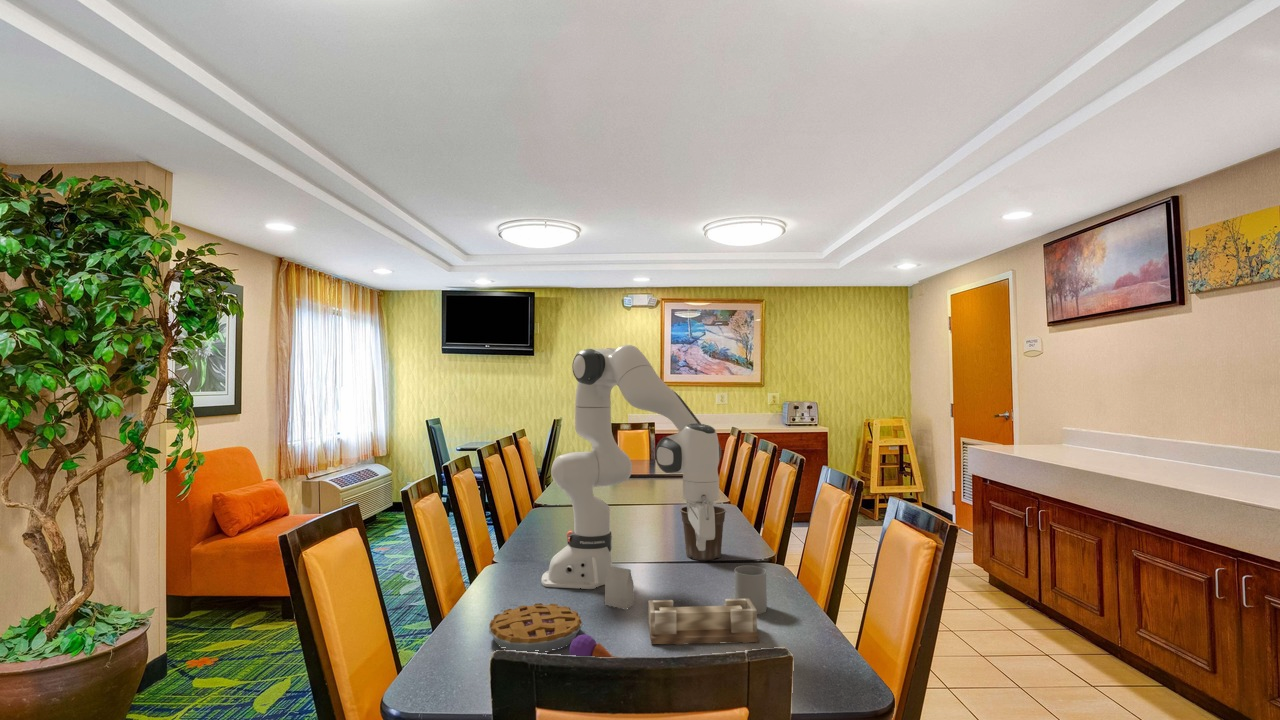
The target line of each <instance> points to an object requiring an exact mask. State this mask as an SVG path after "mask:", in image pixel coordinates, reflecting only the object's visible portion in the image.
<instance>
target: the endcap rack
mask: <svg viewBox="0 0 1280 720" xmlns="http://www.w3.org/2000/svg"><path fill="white" fill-rule="evenodd" d="M731 605H740V606H741V607H742V609H730V610H731V629H713V630H682V631H676V610H665V611H659V608H661V607H674V600H673V599H660V600H659V599H658V600H657V599H653V600H648V618H647V627H648V626H649V627H648V633H649V638H650V645H651V644H676V645H685V644H684V643H720V642H743V643H742V644H750V643H749V642H756V643H757V644H760V635H759V633H758V614H757V610H756V609H755V607H754V605H753V604H752V602H751V601H750V599H735V598H725V599H724V606H731ZM747 642H748V643H747ZM756 643H755V644H756ZM720 644H721V643H720Z"/></svg>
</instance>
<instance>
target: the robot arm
mask: <svg viewBox="0 0 1280 720" xmlns="http://www.w3.org/2000/svg"><path fill="white" fill-rule="evenodd" d="M572 374H573V376H574V379H576V381H577V385H576V390H575V398H574V399H575V403H574V406H575V407H574V409H575V410H574V413H575V414H574V420H575V421H574V429H575V432H576V434H577V435H578V436H579V437H581V438H582V439H584V440H586V441H588V442H590V445H591V451H577V452H576V451H575V452H574V451H573V452H568V453H563V454H561V455H558V456H557V457H555V459H554V460H553V462H552V465H551V469H550V474H551V478H552V480H553V483H554V484H555V485H556V486H557V487H558V488H560V489H561V490H562V491H563V492H564V493H565V494H566V495H567V496H568V498H569V500H570V502H571V505H572V510H573V523H574V524H573V525H574V526H573V527H574V528H573V530H574V531H572V530H568V531H567V533H566V538H567V545H566V546H565V547H563V548H562V549H561V550H560V551H558V552H557V553H555V555H554V556H553V557H552V558H551V560H550V563H549V565H548V570H546V571H545V572H544V573H543V574H542V576H541V580H540V582H541V585H542V586H543V587H546V588H559V589H560V588H563V589H565V588H566V589H580V588H581V589H582V590H583V589H585V590H593V589H596V587H597V588H598V587H600V586H601V587H602V586H605V581H606V577H607V573H608V567H609V566H613V559H612V548H613V536H612V531H611V508H610V506H609V504H608V503H607V502H606V501H605V500H603V499H601V498H599V497H597V496H595V494H594V491H593V490H594V488H597V487H598V488H599V487H609V486H610V487H611V486H617V485H619V484H622V483H623V484H624V483H625V482H627V481H629V479H630V478H631V475H632V471H633V464H632V459H631V458H630V457H629V455H628V454H627V453H626V452H625V451H624V450H623V449H621V448H620V446H619V445H618V443H617V442H616V440H615V438H614V435H613V432H612V431H613V430H612V417H611V416H612V414H611V413H612V407H611V403H612V402H611V401H612V400H611V392H612V389H614V387H615V386H618V388H619V391H620V393H621V394H622V396H623V398H624V400H625V401H627V402H628V404H629V405H630V406H632V407H633V408H636V409H638V410H642V411H646V412H651V413H655V414H658V415H661V416H663V417H665V418H666V419H668V420H669V421H671V422H672V423H673V425H674V426H675V427H676V429H677V430H678V432H677V433H676V432H675V433H674V434H671V435H667V436H664V437H661V439H660V440H659V441H658V443H657V444H656V448H655V454H654V455H655V462H656V464H657V466H658V468H659V469H660V470H661V471H662V472H664V473H665V474H682V499H683V500H685V502H686V506H687V513H688V518H689V521H690V523H691V525H692V526H693V528H694V530H695V535H696V546H697V548H698V550H699V551H704V550H705V547H706V540H714V538H715V513H714V507H713V506H715V502H716V501H718V500H720V476H719V473H718V467H719V465H720V461H721V457H722V447H721V444H720V442H719V438H718V433H717V430H716V428H714V427H713V426H711V425H709V424H705V423H704V424H703V423H701V421H700V420H699V419H698V418H697V416H696V415H695V414H694V413H693V411H692V410H691V408H689V406H688V405H687V403H686V401H684V400H683V399H682V397H681V396H680V395H679V394H678V393H676V391H674V389H671V388H670V387H669V386H668V385H667V384H666V383H665V382H664V381H663V380H662V378H661V377H660V376H659V375H658V374H657V372H656V371H655V369H654V367H653V366H652V365H651V362H650V361H649V360H648V358H647V357H646V356H645V355H644V354H643V352H642V351H641V350H640V349H639V348H638V347H636V346H634V345H632V344H625V345H620V346H619V347H617V348H612V347H607V348H587V349H585V348H584V349H582V350H579V351H578V352H577V353H576V354H575V356H574V358H573V360H572Z"/></svg>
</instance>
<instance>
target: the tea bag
mask: <svg viewBox="0 0 1280 720" xmlns="http://www.w3.org/2000/svg"><path fill="white" fill-rule="evenodd" d="M631 571H632V570H631V569H628V568H623V567H617V566H614V565H612V566H609V567H608V573H607V577H606V581H605V585H604V605H605V606H606V605H610V606H609V607H611V606H614V607H613V608H615V607H618V608H617V609H620V608H624V609H623V610H625V609H627V608H629V607H630V608H632V607H633V606H634V580H633V576H632V573H631ZM632 605H633V606H632ZM631 606H632V607H631ZM630 608H629V609H630ZM627 610H628V609H627Z"/></svg>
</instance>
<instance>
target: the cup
mask: <svg viewBox="0 0 1280 720" xmlns="http://www.w3.org/2000/svg"><path fill="white" fill-rule="evenodd" d="M767 596H768V595H767V570H766V569H765V568H763V567H760V566H757V565H740V566H736V567H735V568H734V599H750V601H751V602H752V604H753V605H754V607H755V609H756V610H757V615H760V614H763V613H766V611H767V604H768V603H767V601H768V600H767V599H768V598H767Z"/></svg>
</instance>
